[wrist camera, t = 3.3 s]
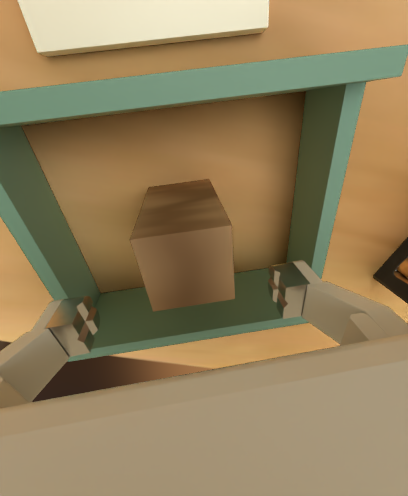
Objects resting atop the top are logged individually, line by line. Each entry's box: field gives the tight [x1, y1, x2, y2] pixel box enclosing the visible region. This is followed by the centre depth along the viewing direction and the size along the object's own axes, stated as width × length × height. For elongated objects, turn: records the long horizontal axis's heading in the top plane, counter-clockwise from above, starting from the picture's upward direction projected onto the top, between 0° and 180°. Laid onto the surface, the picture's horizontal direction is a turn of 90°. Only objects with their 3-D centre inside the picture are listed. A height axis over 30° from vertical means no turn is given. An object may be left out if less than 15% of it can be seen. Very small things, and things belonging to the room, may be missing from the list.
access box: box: [0, 45, 408, 362], centre depth 15 cm, size 20×16×6 cm
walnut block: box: [130, 179, 235, 312], centre depth 14 cm, size 4×4×8 cm
